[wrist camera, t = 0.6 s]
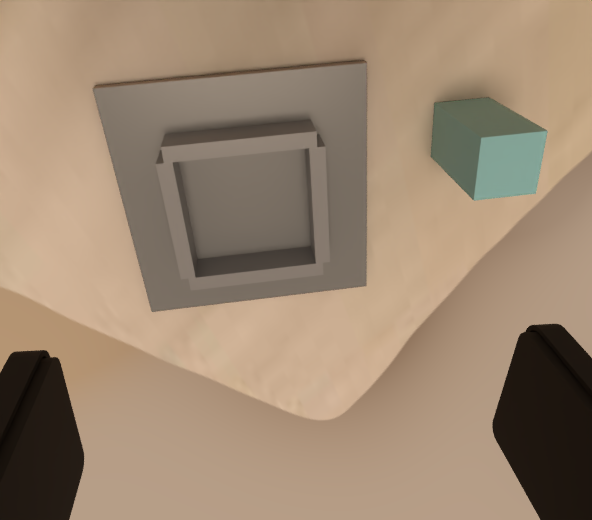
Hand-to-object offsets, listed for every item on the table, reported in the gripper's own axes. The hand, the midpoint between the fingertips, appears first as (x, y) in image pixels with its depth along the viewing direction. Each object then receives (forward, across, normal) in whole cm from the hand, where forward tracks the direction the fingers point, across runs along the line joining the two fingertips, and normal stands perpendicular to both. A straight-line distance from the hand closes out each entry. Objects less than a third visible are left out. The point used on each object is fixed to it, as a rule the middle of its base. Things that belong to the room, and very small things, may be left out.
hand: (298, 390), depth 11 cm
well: (+33, 0, +10) cm, 34 cm away
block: (+33, -18, +4) cm, 37 cm away
